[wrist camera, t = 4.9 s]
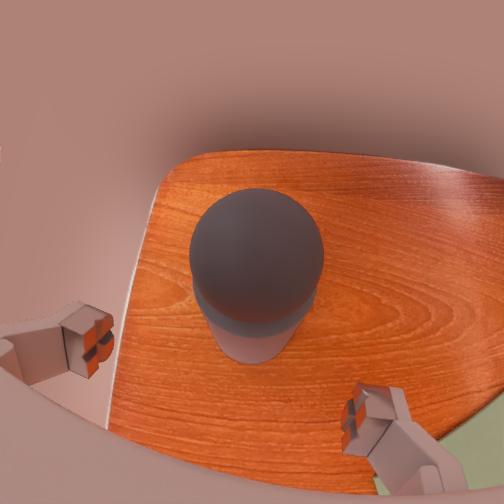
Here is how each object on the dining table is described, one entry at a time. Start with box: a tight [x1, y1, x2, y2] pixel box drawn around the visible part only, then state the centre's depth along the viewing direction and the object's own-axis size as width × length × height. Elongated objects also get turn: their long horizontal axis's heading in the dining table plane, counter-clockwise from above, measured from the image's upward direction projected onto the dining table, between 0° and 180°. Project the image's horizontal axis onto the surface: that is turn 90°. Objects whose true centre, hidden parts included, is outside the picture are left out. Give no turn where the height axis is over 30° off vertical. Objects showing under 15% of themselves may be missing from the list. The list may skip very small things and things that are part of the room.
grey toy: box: [189, 188, 324, 364], centre depth 14 cm, size 5×5×12 cm
